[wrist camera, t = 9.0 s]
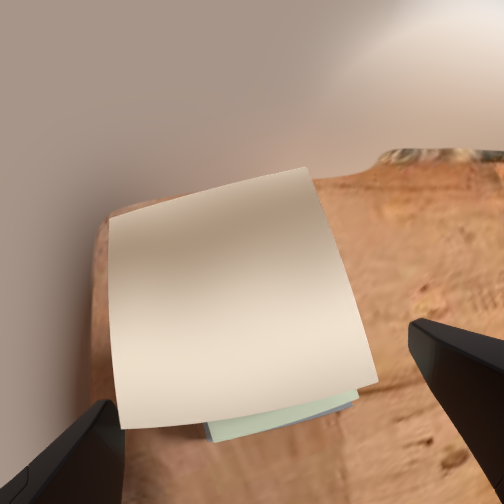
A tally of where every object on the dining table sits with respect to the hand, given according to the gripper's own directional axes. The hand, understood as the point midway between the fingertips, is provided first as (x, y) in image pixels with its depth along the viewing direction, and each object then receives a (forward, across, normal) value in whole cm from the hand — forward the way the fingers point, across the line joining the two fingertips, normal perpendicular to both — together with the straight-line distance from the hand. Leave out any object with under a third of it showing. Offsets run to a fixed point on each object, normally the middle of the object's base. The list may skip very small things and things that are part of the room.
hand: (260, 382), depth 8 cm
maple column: (+7, 0, +4) cm, 8 cm away
